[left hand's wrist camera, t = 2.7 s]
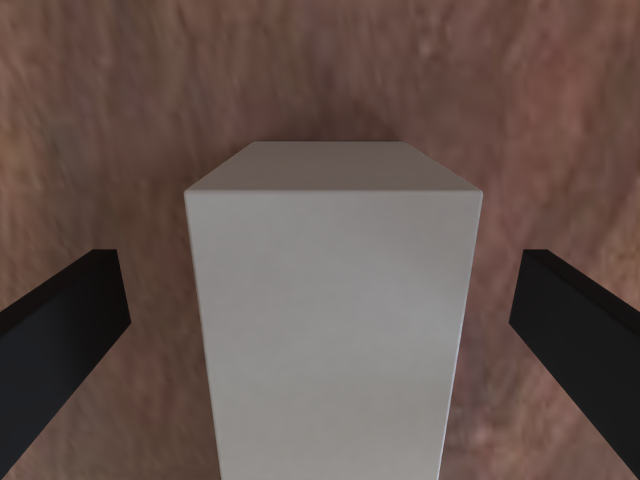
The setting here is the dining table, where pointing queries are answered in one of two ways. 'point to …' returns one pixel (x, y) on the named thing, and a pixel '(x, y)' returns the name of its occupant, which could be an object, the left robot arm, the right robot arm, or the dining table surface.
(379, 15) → the dining table surface
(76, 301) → the left robot arm
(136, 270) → the dining table surface
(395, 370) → the post
